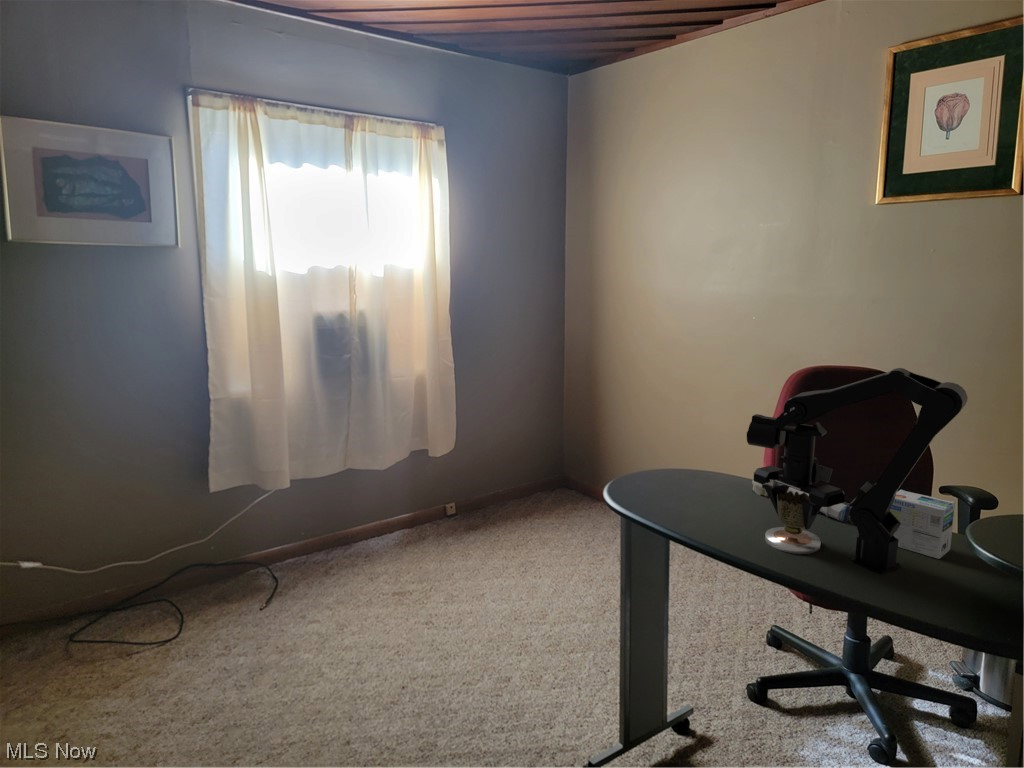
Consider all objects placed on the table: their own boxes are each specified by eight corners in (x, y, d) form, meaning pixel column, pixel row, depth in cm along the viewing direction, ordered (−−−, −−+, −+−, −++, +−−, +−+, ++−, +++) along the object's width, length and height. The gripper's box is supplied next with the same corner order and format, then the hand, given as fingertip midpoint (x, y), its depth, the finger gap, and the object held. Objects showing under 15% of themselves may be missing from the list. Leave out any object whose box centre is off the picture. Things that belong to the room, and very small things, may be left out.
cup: (769, 524, 146) (772, 490, 144) (803, 525, 146) (806, 490, 144) (781, 539, 139) (784, 503, 137) (817, 539, 138) (820, 503, 137)
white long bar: (841, 508, 151) (750, 466, 171) (835, 534, 153) (746, 489, 173) (854, 503, 154) (763, 462, 174) (848, 529, 156) (759, 485, 176)
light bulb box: (950, 550, 138) (957, 501, 136) (940, 560, 134) (946, 509, 132) (895, 534, 146) (900, 488, 144) (883, 543, 142) (888, 495, 140)
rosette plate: (831, 546, 140) (832, 541, 140) (795, 558, 135) (796, 552, 135) (789, 528, 150) (789, 522, 150) (753, 538, 145) (754, 532, 145)
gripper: (865, 458, 134) (858, 531, 137) (789, 437, 150) (784, 502, 153) (828, 467, 129) (822, 542, 132) (753, 444, 145) (749, 511, 148)
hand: (794, 523), depth 142 cm, fingers closed on cup, 6 cm apart
